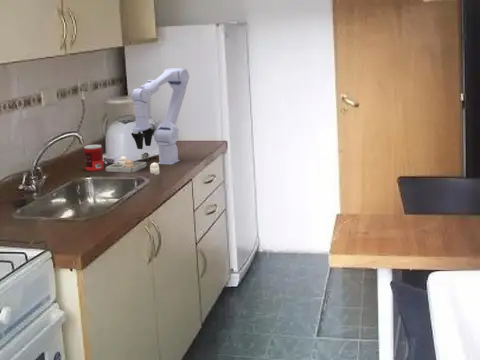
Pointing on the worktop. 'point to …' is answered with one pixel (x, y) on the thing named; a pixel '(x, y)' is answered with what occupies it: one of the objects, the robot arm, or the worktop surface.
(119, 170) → the egg tray
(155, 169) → the cream egg loose
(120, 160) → the cream egg seated
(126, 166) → the brown egg
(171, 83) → the robot arm
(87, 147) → the canned food
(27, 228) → the worktop surface
